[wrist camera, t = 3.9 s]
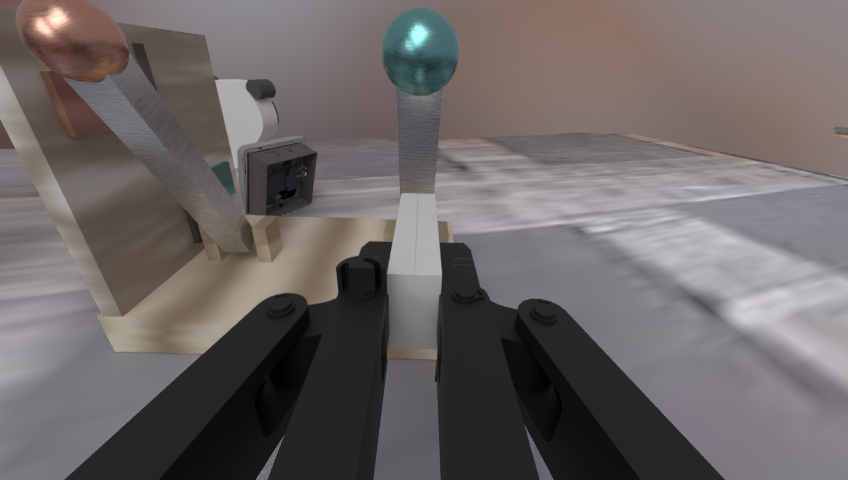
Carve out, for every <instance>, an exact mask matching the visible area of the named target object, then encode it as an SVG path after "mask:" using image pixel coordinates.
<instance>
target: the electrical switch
mask: <svg viewBox="0 0 848 480" xmlns="http://www.w3.org/2000/svg"><path fill="white" fill-rule="evenodd" d="M305 141H306V140H305V139H304V138H303V137H301V136H299V135H295V136H290V137H285V138H279V139H274V140H268V141H263V142H258V143H252V144H247V145H242V146H241V147H240V148H239V149H238V151H237V158H238V184H239V188H240V192H241V197H242V201H243V205H244V210H245V214H246V215H263V216H281V215H283V214H286V213H288V212H290V211H293V210H295V209H298V208H300V207H302V206H305V205H307V204H309V203H310V202H311V201H312V193H313V184H314V176H315V167H316V159H317V152H316V151H314V150H312V149H310V148H309V147H308V146H306V145H305ZM305 167H306V168H307V169H306V168H305ZM305 172H306V173H307V174H306V177H305V176H304V175H305ZM299 200H300V201H299ZM308 201H309V202H308ZM281 204H282V205H283V206H284V207H283V208H280V207H279V205H281ZM288 205H289V206H288ZM275 208H277V209H275Z"/></svg>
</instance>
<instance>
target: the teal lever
mask: <svg viewBox="0 0 848 480" xmlns="http://www.w3.org/2000/svg"><path fill="white" fill-rule="evenodd" d="M458 58H459V46H458V40H457V37H456V34H455V31H454V29H453V27H452V26H451V24H450V23H449V21H448V20H447V19H446V18H445V17H444V16H443V15H441V14H440V13H438V12H437V11H435V10H432V9H429V8H425V7H415V8H411V9H407V10H405V11H403V12H402V13H400V14H399V15H397V16H396V17H395V18H394V19H393V20H392V22H391V23H390V24H389V26H388V28H387V29H386V32H385V34H384V37H383V41H382V61H383V65H384V69H385V71H386V73H387V75H388V77H389V78H390V80H391V81H392V82H393V83H394V85H395V86H396V104H397V105H396V106H397V129H398V152H399V176H400V199H401V193H416V194H434V185H435V173H436V162H437V150H438V138H439V127H440V115H441V103H442V92H443V87H444V86H445V85H446V84H447V83H448V82H449V80H450V79H451V78H452V76H453V74H454V72H455V70H456V67H457V63H458Z"/></svg>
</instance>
